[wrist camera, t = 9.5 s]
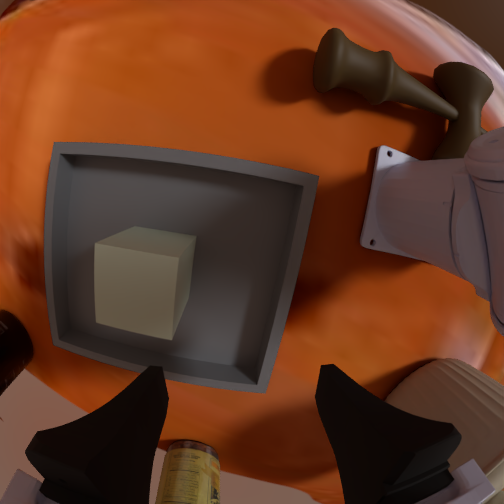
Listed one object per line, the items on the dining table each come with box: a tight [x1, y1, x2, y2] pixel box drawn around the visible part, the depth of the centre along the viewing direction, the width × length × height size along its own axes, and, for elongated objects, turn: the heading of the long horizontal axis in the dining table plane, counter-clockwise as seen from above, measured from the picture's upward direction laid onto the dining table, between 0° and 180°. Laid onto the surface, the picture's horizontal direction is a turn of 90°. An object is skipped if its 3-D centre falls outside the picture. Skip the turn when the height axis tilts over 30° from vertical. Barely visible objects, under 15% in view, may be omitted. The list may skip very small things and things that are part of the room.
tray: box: [44, 142, 319, 393], centre depth 18 cm, size 18×16×3 cm
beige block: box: [94, 226, 197, 340], centre depth 16 cm, size 4×4×6 cm
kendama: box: [313, 28, 494, 160], centre depth 15 cm, size 6×10×20 cm
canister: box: [384, 358, 504, 504], centre depth 15 cm, size 18×18×21 cm
